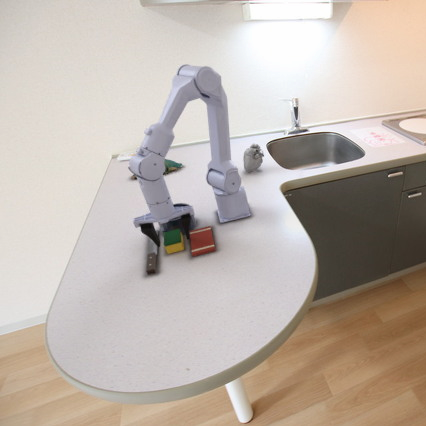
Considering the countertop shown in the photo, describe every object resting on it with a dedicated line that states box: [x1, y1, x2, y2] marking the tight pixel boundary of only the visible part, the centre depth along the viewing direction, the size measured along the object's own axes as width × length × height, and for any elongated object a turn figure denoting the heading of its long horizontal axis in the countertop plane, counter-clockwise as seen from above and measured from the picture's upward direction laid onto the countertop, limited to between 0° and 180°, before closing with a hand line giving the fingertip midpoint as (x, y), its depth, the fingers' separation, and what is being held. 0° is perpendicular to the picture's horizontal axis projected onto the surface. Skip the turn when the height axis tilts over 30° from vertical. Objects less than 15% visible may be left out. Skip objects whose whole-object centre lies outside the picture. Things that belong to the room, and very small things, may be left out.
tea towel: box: [189, 225, 216, 258], centre depth 89 cm, size 6×12×1 cm, turn 23°
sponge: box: [163, 229, 185, 255], centre depth 87 cm, size 4×6×3 cm
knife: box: [145, 230, 159, 276], centre depth 85 cm, size 2×20×2 cm, turn 23°
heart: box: [242, 143, 265, 174], centre depth 126 cm, size 10×10×12 cm
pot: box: [157, 202, 197, 236], centre depth 94 cm, size 10×10×6 cm
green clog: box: [131, 158, 184, 180], centre depth 130 cm, size 9×20×5 cm, turn 114°
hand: (173, 240), depth 87 cm, fingers open, 7 cm apart
